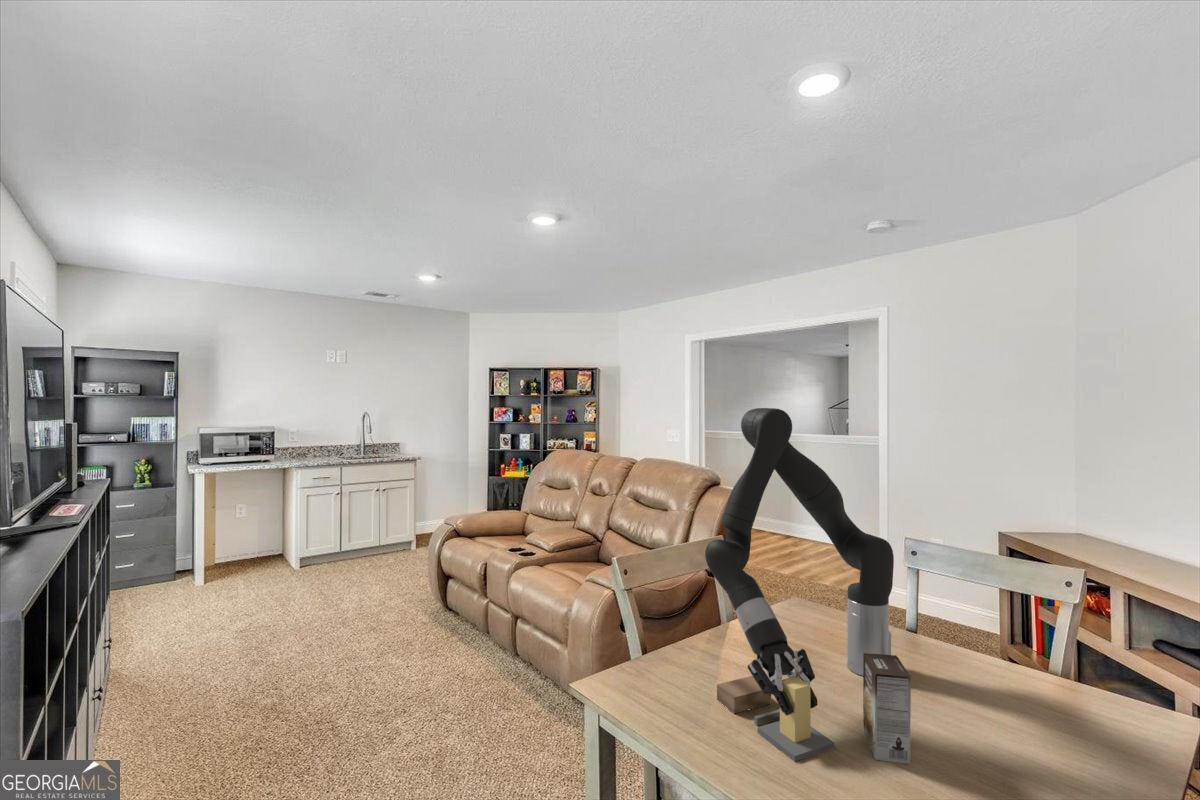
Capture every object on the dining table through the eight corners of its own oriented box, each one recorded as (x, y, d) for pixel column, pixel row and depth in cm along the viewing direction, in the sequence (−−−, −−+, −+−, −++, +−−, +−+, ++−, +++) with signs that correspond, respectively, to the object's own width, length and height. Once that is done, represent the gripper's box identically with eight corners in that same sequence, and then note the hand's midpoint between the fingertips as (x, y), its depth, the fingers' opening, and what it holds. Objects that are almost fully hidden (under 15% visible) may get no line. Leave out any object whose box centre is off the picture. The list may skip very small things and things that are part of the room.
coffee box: (861, 732, 112) (861, 651, 112) (896, 736, 111) (896, 654, 111) (874, 760, 103) (874, 672, 103) (912, 765, 102) (912, 676, 102)
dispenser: (752, 691, 128) (752, 675, 128) (789, 716, 118) (789, 699, 118) (716, 700, 124) (716, 684, 124) (751, 727, 113) (751, 710, 113)
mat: (795, 720, 116) (795, 716, 116) (834, 747, 107) (834, 742, 107) (757, 732, 112) (757, 727, 112) (794, 761, 103) (794, 756, 103)
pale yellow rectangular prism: (795, 726, 112) (795, 676, 112) (810, 737, 108) (810, 685, 109) (779, 731, 110) (779, 680, 110) (795, 742, 107) (794, 689, 107)
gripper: (741, 622, 113) (783, 711, 102) (795, 611, 119) (840, 695, 108) (724, 638, 118) (763, 725, 107) (777, 628, 124) (819, 709, 113)
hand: (802, 709), depth 108 cm, fingers open, 5 cm apart
